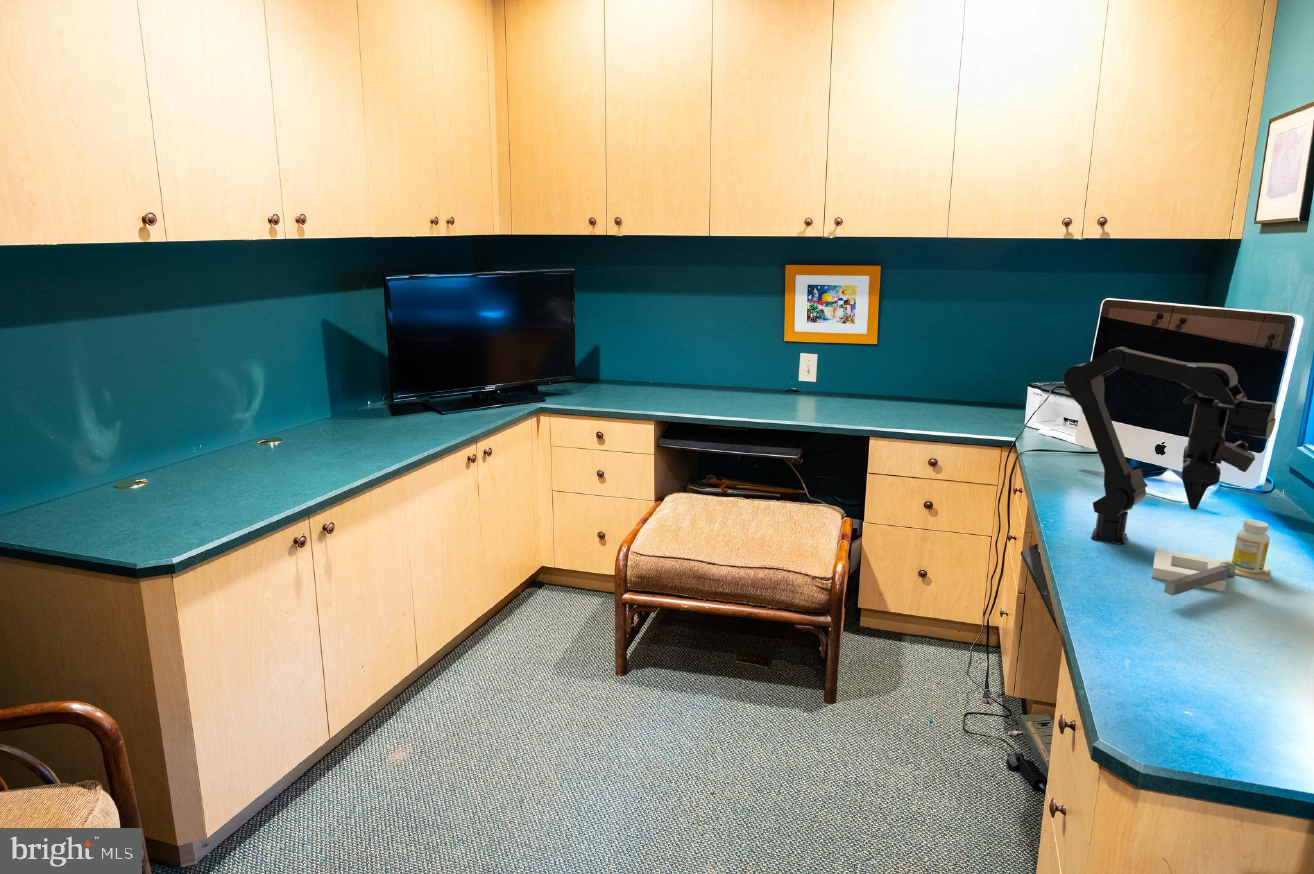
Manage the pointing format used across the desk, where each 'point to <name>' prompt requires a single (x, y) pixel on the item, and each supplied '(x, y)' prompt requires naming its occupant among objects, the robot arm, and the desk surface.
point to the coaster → (1262, 575)
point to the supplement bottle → (1251, 547)
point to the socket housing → (1168, 572)
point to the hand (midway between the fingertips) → (1193, 502)
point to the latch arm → (1200, 579)
